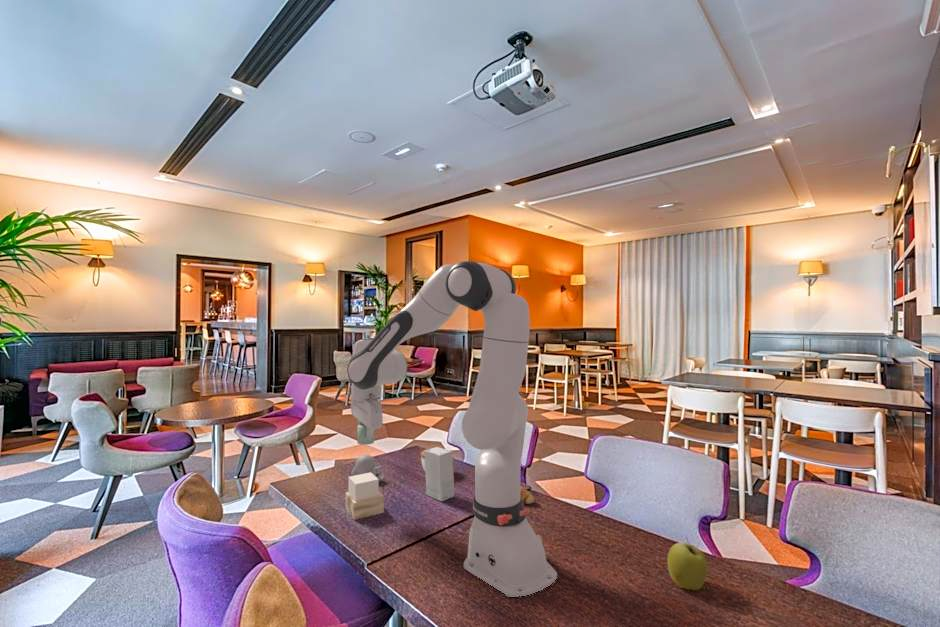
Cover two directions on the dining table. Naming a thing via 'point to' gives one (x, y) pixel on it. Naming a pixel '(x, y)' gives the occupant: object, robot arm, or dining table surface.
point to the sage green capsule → (363, 435)
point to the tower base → (364, 506)
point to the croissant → (526, 496)
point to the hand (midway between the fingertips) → (365, 436)
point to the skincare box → (439, 473)
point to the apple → (687, 566)
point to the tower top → (363, 486)
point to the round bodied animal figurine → (367, 467)
